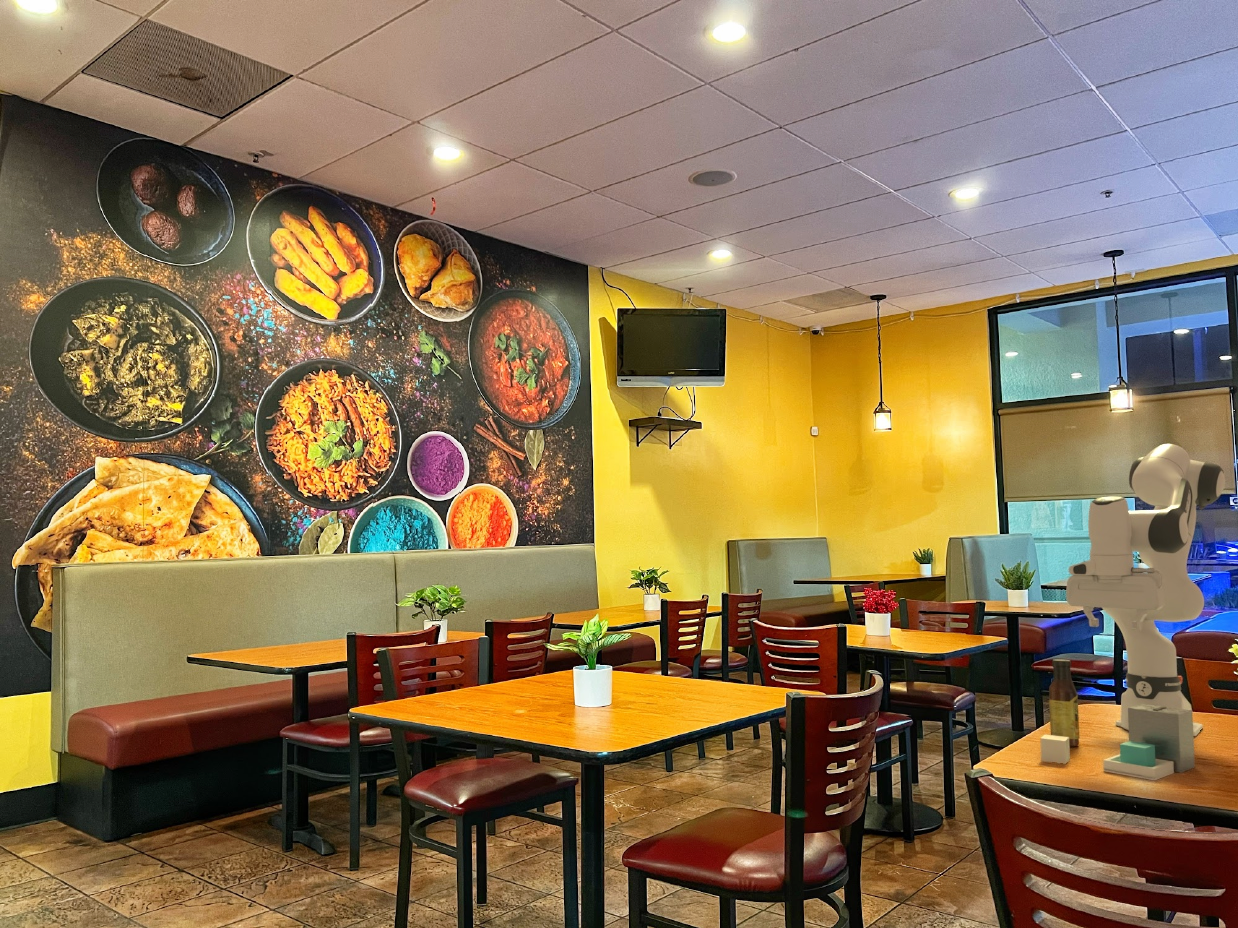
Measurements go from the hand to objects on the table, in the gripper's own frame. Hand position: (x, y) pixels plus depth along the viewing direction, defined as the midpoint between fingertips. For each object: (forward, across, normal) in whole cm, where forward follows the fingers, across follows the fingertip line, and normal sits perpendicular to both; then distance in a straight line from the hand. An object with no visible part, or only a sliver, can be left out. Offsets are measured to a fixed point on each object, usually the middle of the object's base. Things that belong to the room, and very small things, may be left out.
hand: (1115, 627), depth 214 cm
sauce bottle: (+29, +13, 0) cm, 32 cm away
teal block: (+27, -9, +15) cm, 32 cm away
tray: (+28, -9, +15) cm, 33 cm away
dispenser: (+28, -10, +5) cm, 30 cm away
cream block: (+28, +7, +18) cm, 34 cm away
